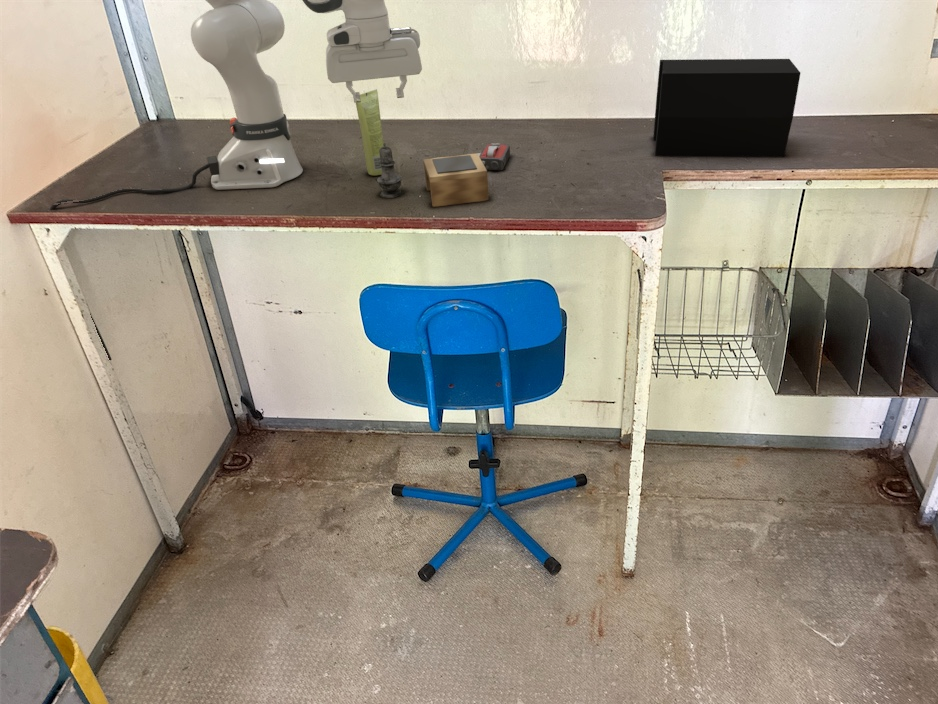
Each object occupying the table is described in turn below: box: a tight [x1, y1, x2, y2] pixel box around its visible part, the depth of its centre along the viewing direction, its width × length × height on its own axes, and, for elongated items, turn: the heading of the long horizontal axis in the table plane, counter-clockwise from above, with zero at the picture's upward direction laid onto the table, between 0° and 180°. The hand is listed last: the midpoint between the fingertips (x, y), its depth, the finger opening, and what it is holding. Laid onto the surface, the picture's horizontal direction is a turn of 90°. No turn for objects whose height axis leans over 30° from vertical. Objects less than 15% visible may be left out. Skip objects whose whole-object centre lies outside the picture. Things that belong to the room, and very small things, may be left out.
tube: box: [355, 88, 385, 176], centre depth 174 cm, size 6×5×20 cm
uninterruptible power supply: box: [652, 58, 801, 158], centre depth 181 cm, size 16×34×20 cm, turn 83°
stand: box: [422, 152, 489, 208], centre depth 165 cm, size 13×12×7 cm
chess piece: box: [376, 142, 403, 199], centre depth 165 cm, size 6×6×12 cm
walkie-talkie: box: [477, 142, 511, 171], centre depth 179 cm, size 9×4×20 cm
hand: (379, 99), depth 156 cm, fingers open, 8 cm apart
